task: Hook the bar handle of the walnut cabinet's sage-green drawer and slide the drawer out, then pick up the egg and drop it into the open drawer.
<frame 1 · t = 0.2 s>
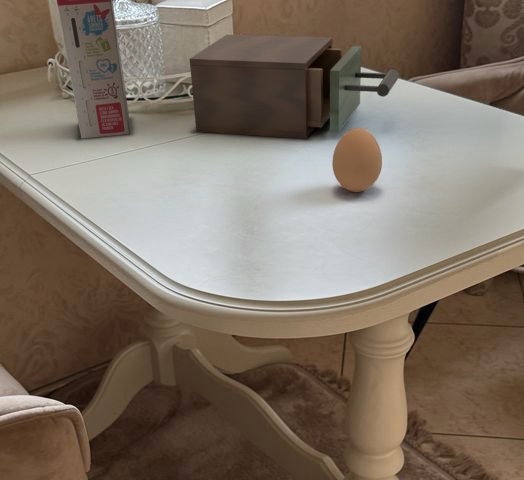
drawer: (318, 86, 106), point 5 cm above the table, slide at 3.0 cm
egg: (356, 192, 89), on the table
cabinet: (266, 119, 111), on the table
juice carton: (106, 129, 111), on the table
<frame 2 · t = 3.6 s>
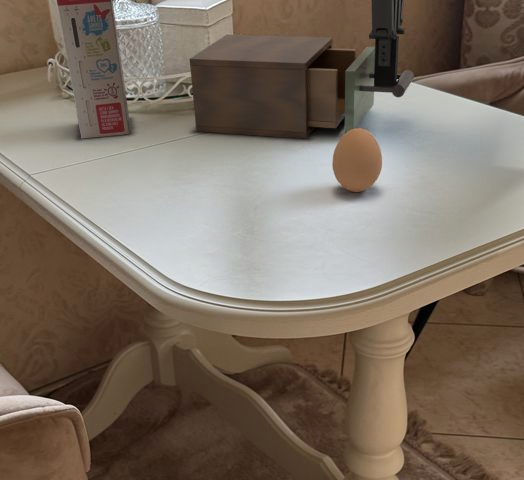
hand: (385, 89, 103), 5 cm above the table, tool pointing down, fingers closed
drawer: (332, 87, 105), point 5 cm above the table, slide at 5.0 cm
everything else where it was.
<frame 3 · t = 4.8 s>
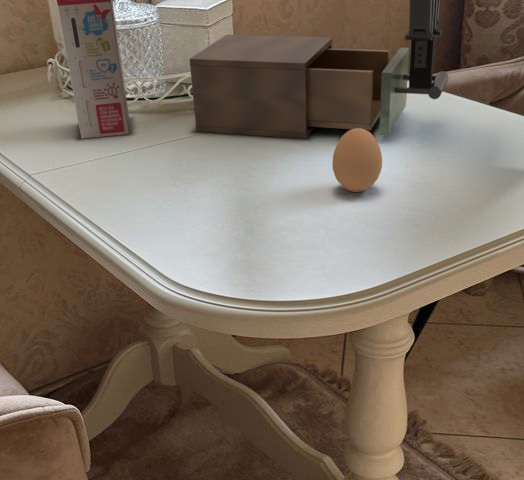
hand: (420, 91, 102), 5 cm above the table, tool pointing down, fingers closed
drawer: (366, 89, 104), point 5 cm above the table, slide at 9.5 cm, touching gripper
everything else where it was.
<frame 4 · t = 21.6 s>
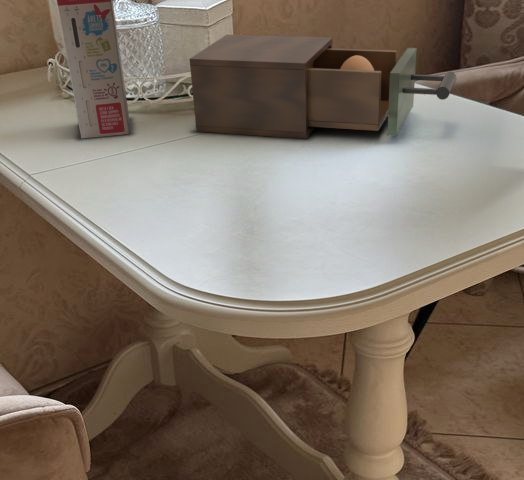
drawer: (373, 89, 104), point 5 cm above the table, slide at 10.5 cm, touching egg
egg: (355, 111, 106), point 2 cm above the table, touching drawer
everything else where it was.
at the end: drawer slide at 10.5 cm; egg inside the target area in the drawer (1.8 cm from its centre), point 1.8 cm above the cabinet's base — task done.
